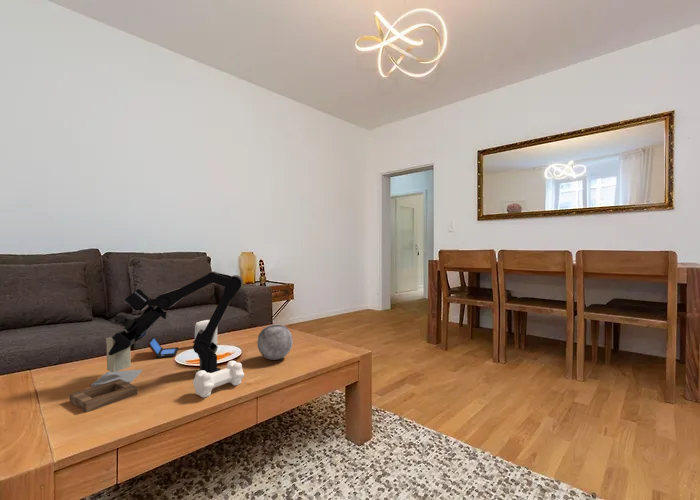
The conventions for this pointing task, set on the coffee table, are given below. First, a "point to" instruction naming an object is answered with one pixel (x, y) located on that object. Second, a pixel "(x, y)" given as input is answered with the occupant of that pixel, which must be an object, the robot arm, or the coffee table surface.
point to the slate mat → (117, 376)
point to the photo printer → (203, 326)
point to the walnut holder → (89, 403)
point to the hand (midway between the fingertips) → (114, 351)
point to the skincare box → (117, 357)
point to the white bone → (217, 378)
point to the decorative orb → (274, 341)
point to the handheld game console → (161, 349)
